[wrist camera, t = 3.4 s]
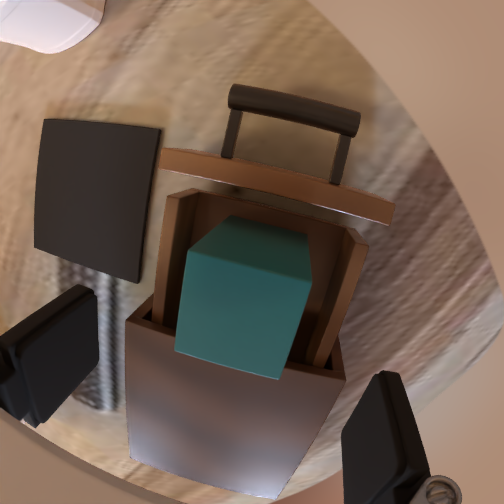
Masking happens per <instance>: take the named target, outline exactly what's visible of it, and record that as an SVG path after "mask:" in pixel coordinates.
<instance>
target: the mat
mask: <svg viewBox="0 0 504 504" xmlns="http://www.w3.org/2000/svg"><path fill="white" fill-rule="evenodd" d="M160 134H161V130H160V129H153V128H145V127H137V126H129V125H120V124H110V123H100V122H88V121H74V120H57V119H44V122H43V128H42V134H41V141H40V149H39V157H38V166H37V177H36V191H35V211H34V248H37V249H39V250H42V251H45V252H47V253H50V254H53V255H55V256H58V257H61V258H63V259H66V260H69V261H72V262H74V263H77V264H80V265H83V266H85V267H88V268H91V269H94V270H97V271H100V272H103V273H106V274H109V275H111V276H114V277H117V278H120V279H123V280H126V281H129V282H133V283H136V284H138V283H139V282H140V271H141V260H142V251H143V242H144V233H145V225H146V217H147V210H148V203H149V196H150V190H151V184H152V177H153V172H154V166H155V160H156V155H157V149H158V144H159V139H160Z"/></svg>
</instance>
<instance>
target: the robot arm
mask: <svg viewBox="0 0 504 504" xmlns="http://www.w3.org/2000/svg"><path fill="white" fill-rule="evenodd" d="M98 361H99V342H98V312H97V296H96V295H94V291H93V290H92V289H90V288H88V287H85V286H82V285H80V284H77V285H75V286H74V287H72V288H71V289H69V290H67V291H66V292H64V293H63V294H61V295H60V296H58V297H57V298H55V299H54V300H52V301H51V302H49V303H48V304H46V305H45V306H43V307H42V308H40V309H39V310H37V311H36V312H34V313H33V314H31V315H30V316H28V317H27V318H25V319H24V320H23V321H21V322H20V323H18V324H17V325H15V326H14V327H13V328H11V329H10V330H8V331H7V332H5V333H4V334H3V335H1V336H0V504H187V503H183V502H180V501H177V500H174V499H171V498H168V497H166V496H163V495H160V494H157V493H155V492H152V491H149V490H147V489H144V488H142V487H139V486H137V485H134V484H132V483H130V482H127V481H125V480H123V479H121V478H118V477H116V476H114V475H112V474H110V473H108V472H106V471H103V470H101V469H99V468H97V467H95V466H93V465H91V464H89V463H87V462H86V461H84V460H82V459H80V458H78V457H76V456H74V455H73V454H71V453H69V452H67V451H66V450H64V449H62V448H60V447H59V446H57V445H55V444H54V443H52V442H50V441H49V440H47V439H46V438H44V437H42V436H41V435H39V434H38V433H36V432H35V431H33V430H32V429H30V428H29V427H27V426H26V425H24V423H25V422H27V423H28V424H30V425H31V426H33V427H34V428H36V427H37V426H38V425H39V424H40V423H45V422H46V421H47V420H48V419H49V418H50V417H51V415H52V414H53V413H54V412H55V411H56V410H57V409H58V408H59V406H60V405H61V404H62V403H63V402H64V401H65V400H66V399H67V397H68V396H69V395H70V394H71V393H72V392H73V391H74V390H75V389H76V387H77V386H78V385H79V384H80V383H81V382H82V381H83V380H84V379H85V378H86V376H87V375H88V374H89V373H90V372H91V371H92V370H93V369H94V368H95V367H96V365H97V364H98ZM341 446H342V464H343V486H344V504H461V502H462V493H461V490H460V488H459V486H458V485H457V484H456V483H455V482H454V481H453V480H452V479H450V478H448V477H446V476H441V475H435V476H431V474H430V468H429V465H428V461H427V458H426V454H425V451H424V447H423V444H422V441H421V437H420V434H419V431H418V428H417V424H416V421H415V418H414V415H413V412H412V409H411V406H410V403H409V400H408V397H407V394H406V391H405V388H404V385H403V383H402V380H401V377H400V375H399V373H396V372H390V371H384V370H382V371H381V372H380V373H379V374H375V375H374V376H373V377H372V379H371V381H370V383H369V385H368V386H367V388H366V390H365V392H364V394H363V395H362V397H361V399H360V401H359V402H358V404H357V406H356V408H355V409H354V411H353V413H352V414H351V416H350V418H349V419H348V421H347V423H346V424H345V426H344V428H343V430H342V433H341Z"/></svg>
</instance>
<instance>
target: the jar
mask: <svg viewBox="0 0 504 504" xmlns="http://www.w3.org/2000/svg"><path fill="white" fill-rule="evenodd" d="M105 1H106V0H0V41H3V42H7V43H12V44H16V45H20V46H24V47H27V48H31V49H32V50H35V51H38V52H42V53H47V54H52V53H58V52H61V51H64V50H66V49H68V48H70V47H72V46H74V45H76V44H77V43H79V42H80V41H81V40H83V39H84V38H85V37H86V36H88V35H89V34H90V33H91V32H92V31H93V30H94V29H95V28H96V27H97V26H98V25H99V24H100V22H101V19H102V16H103V14H104V5H105Z"/></svg>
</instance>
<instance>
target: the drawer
mask: <svg viewBox="0 0 504 504" xmlns="http://www.w3.org/2000/svg"><path fill="white" fill-rule="evenodd" d="M228 108H229V109H231V112H230V116H229V120H228V125H227V129H226V134H225V138H224V143H223V147H222V152H221V155H219V154H214V153H209V152H204V151H198V150H193V149H180V148H162V150H161V156H160V161H159V167H158V169H160V170H164V171H170V172H175V173H180V174H185V175H189V176H194V177H199V178H204V179H208V180H213V181H218V182H222V183H227V184H231V185H236V186H240V187H244V188H249V189H253V190H257V191H261V192H265V193H269V194H273V195H278V196H282V197H286V198H289V199H293V200H297V201H301V202H305V203H309V204H313V205H316V206H320V207H324V208H328V209H331V210H335V211H338V212H342V213H346V214H349V215H353V216H356V217H360V218H363V219H367V220H370V221H373V222H377V223H380V224H383V225H387V226H390V223H391V220H392V217H393V213H394V210H395V206H396V204H394V203H392V202H390V201H388V200H386V199H384V198H382V197H380V196H378V195H376V194H373V193H370V192H367V191H363V190H360V189H357V188H353V187H350V186H346V185H343V184H340V182H341V178H342V174H343V170H344V166H345V162H346V158H347V154H348V150H349V145H350V141H351V137H352V138H354V137H355V136H356V134H357V131H358V128H359V124H360V119H361V114H360V112H357V111H354V110H350V109H347V108H344V107H340V106H336V105H333V104H329V103H325V102H322V101H318V100H314V99H310V98H305V97H301V96H297V95H292V94H288V93H283V92H278V91H274V90H268V89H263V88H258V87H252V86H246V85H240V84H233V85H232V87H231V89H230V92H229V96H228ZM242 111H243V112H249V113H254V114H259V115H264V116H269V117H274V118H278V119H283V120H287V121H291V122H296V123H300V124H304V125H308V126H312V127H316V128H320V129H323V130H327V131H331V132H334V133H338V134H341V135H339V139H338V144H337V148H336V152H335V156H334V160H333V164H332V169H331V173H330V177H329V180H325V179H321V178H318V177H314V176H310V175H306V174H302V173H298V172H294V171H290V170H286V169H282V168H278V167H274V166H270V165H265V164H261V163H257V162H252V161H248V160H243V159H238V158H234V157H233V155H234V151H235V146H236V142H237V137H238V133H239V128H240V124H241V120H242V115H243V112H242ZM229 215H232V216H236V217H241V218H245V219H249V220H253V221H257V222H261V223H265V224H269V225H273V226H277V227H281V228H284V229H288V230H292V231H296V232H300V233H304V234H307V236H308V245H309V254H310V264H311V274H312V286H311V289H310V292H309V295H308V299H307V302H306V305H305V308H304V311H303V314H302V317H301V320H300V323H299V326H298V329H297V332H296V335H295V338H294V341H293V344H292V346H291V349H290V352H289V355H288V358H287V361H291V362H295V363H300V364H304V365H309V366H313V367H318V368H324V366H325V364H326V361H327V359H328V357H329V354H330V352H331V350H332V347H333V345H334V342H335V340H336V337H337V335H338V332H339V330H340V327H341V325H342V322H343V320H344V317H345V314H346V312H347V309H348V306H349V304H350V301H351V298H352V296H353V293H354V290H355V287H356V284H357V281H358V279H359V276H360V273H361V270H362V267H363V264H364V261H365V258H366V255H367V252H368V249H369V246H368V244H367V243H366V242H365V240H364V239H363V238H362V237H361V235H360V234H359V233H358V232H357V231H356V229H354V228H351V227H347V226H344V225H340V224H336V223H333V222H329V221H325V220H322V219H318V218H314V217H310V216H306V215H303V214H299V213H295V212H291V211H287V210H283V209H279V208H275V207H271V206H267V205H263V204H259V203H255V202H251V201H247V200H242V199H238V198H234V197H230V196H225V195H221V194H217V193H212V192H208V191H203V190H199V189H194V188H191V189H188V190H184V191H181V192H178V193H174V194H171V195H168V196H167V199H166V205H165V211H164V218H163V225H162V232H161V239H160V246H159V254H158V262H157V271H156V280H155V289H154V300H153V311H152V322H153V323H156V324H159V325H162V326H165V327H168V328H171V329H175V330H176V329H177V321H178V313H179V306H180V299H181V292H182V285H183V278H184V271H185V265H186V258H187V252H188V250H189V249H190V248H191V247H192V246H193V245H194V244H196V243H197V242H198V241H199V240H200V239H202V238H203V237H204V236H205V235H206V234H208V233H209V232H210V231H211V230H212V229H214V228H215V227H216V226H217V225H218V224H220V223H221V222H222V221H223V220H225V219H226V218H227V217H228V216H229Z"/></svg>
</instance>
